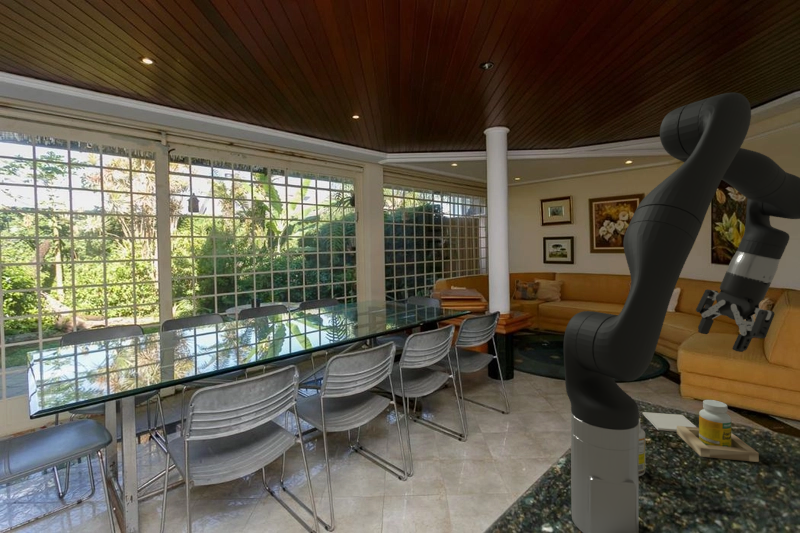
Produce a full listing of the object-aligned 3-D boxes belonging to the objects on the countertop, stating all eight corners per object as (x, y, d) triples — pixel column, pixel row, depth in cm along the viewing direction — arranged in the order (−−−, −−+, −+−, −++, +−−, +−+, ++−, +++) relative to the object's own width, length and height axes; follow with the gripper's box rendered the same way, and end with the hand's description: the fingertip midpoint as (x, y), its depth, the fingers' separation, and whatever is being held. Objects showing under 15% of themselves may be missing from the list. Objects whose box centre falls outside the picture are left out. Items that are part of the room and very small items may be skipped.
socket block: (758, 462, 74) (758, 453, 74) (700, 456, 76) (700, 447, 76) (727, 437, 84) (727, 429, 84) (676, 433, 86) (676, 425, 86)
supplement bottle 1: (617, 458, 76) (617, 409, 76) (648, 469, 72) (649, 418, 72) (607, 469, 73) (607, 418, 72) (640, 481, 68) (640, 427, 68)
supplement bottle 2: (704, 438, 84) (704, 396, 83) (735, 448, 79) (735, 404, 79) (694, 445, 81) (695, 402, 80) (726, 456, 76) (726, 410, 76)
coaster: (701, 433, 86) (701, 431, 86) (657, 430, 88) (657, 427, 88) (682, 416, 94) (682, 414, 94) (642, 413, 97) (642, 412, 97)
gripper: (705, 263, 87) (679, 326, 91) (769, 282, 73) (735, 355, 77) (731, 268, 88) (705, 330, 92) (800, 288, 74) (765, 359, 79)
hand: (719, 341), depth 85 cm, fingers open, 8 cm apart
